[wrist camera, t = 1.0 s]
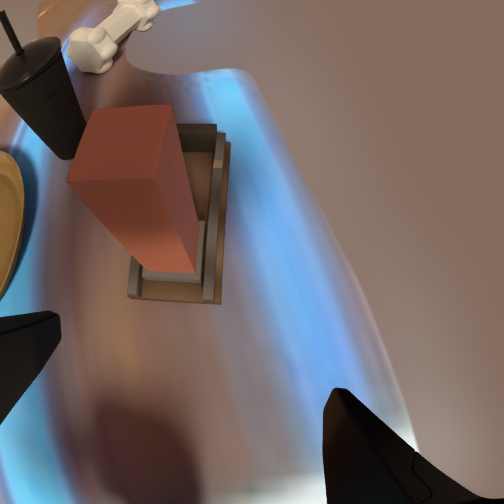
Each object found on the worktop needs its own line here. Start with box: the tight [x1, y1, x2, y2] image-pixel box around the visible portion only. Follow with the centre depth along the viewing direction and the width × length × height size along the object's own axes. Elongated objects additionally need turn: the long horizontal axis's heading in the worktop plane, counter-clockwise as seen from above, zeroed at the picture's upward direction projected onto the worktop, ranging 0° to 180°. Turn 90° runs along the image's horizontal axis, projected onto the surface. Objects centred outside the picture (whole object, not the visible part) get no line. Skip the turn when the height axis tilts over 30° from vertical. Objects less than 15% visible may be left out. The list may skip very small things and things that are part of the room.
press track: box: [127, 124, 231, 304], centre depth 27 cm, size 16×8×4 cm, turn 179°
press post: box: [67, 104, 206, 283], centre depth 19 cm, size 5×5×15 cm
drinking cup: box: [0, 10, 86, 160], centre depth 21 cm, size 8×8×20 cm
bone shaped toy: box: [67, 0, 161, 74], centre depth 34 cm, size 15×9×8 cm, turn 161°
